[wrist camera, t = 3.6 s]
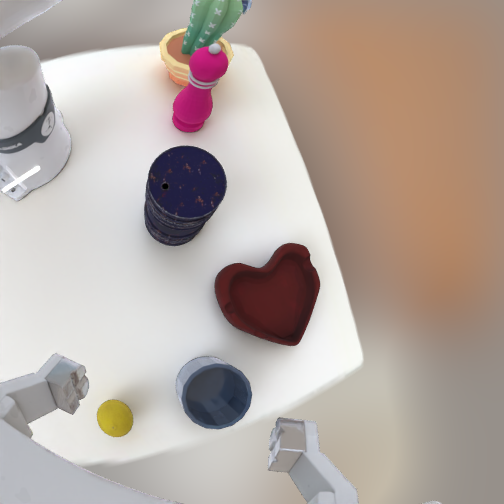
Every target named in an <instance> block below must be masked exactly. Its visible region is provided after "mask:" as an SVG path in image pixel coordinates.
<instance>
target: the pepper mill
mask: <svg viewBox="0 0 504 504" xmlns="http://www.w3.org/2000/svg"><path fill="white" fill-rule="evenodd" d="M189 68H190V70H189V74H188V80H189V84H188V85H187V86H186V87H185V88H184V89H183V90H182V91H181V92H180V93H179V94H178V95H177V97H176V98H175V101H174V103H173V111H174V113H173V118H172V120H173V123H174V125H175V126H176V127H177V128H178V129H179V130H181V131H184V132H195V131H197V130H199V129H200V128H201V127H202V126H203V124H204V121H205V120H206V119H207V118H208V117H209V116H210V114H211V111H212V107H213V102H212V97H211V89H212V87H214V86H216V85H217V83H218V80H219V78H220V77H222V76H223V75H224V74H225V72H226V71H227V68H228V58H227V56H226V54H225V53H224V52H223V51H222V50H221V47H220V45H219V44H216V43H214V44H211V45H210V46H208V47H202V48H200V49H198V50H196V51H195V52H194V53H193V54H192V56H191V58H190V61H189Z"/></svg>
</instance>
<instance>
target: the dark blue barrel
mask: <svg viewBox="0 0 504 504" xmlns="http://www.w3.org/2000/svg"><path fill="white" fill-rule="evenodd" d="M226 188H227V180H226V175H225V172H224V169H223V167H222V165H221V164H220V163H219V161H218V160H217V159H216V158H215V157H214V156H213V155H212V154H210V153H209V152H207V151H205V150H203V149H201V148H198V147H194V146H177V147H173V148H170V149H168V150H166V151H164V152H163V153H162V154H160V155H159V156H158V157H157V158H156V159H155V161H154V162H153V164H152V165H151V167H150V170H149V174H148V180H147V185H146V194H145V197H146V202H145V207H144V215H145V224H146V227H147V230H148V231H149V233H150V235H151V236H152V237H153V238H154V239H155V240H157V241H158V242H160V243H162V244H165V245H169V246H178V245H182V244H185V243H187V242H189V241H190V240H192V239H193V238H194V237H195V236H196V235H197V234H198V233H199V231H200V230H201V229H202V227H203V226H204V224H205V222H206V221H208V220H209V219H210V217H211V216H212V215H213V213H214V212H215V211H216V209H217V208H218V206H219V204H220V203H221V202H222V200H223V198H224V196H225V193H226Z"/></svg>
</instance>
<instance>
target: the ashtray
mask: <svg viewBox="0 0 504 504" xmlns="http://www.w3.org/2000/svg"><path fill="white" fill-rule="evenodd" d="M319 289H320V280H319V276H318V274H317V271H316V269H315V268H314V267H313V265H312V264H311V261H310V253H309V251H308V249H307V248H306V247H305V246H303V245H300V244H295V243H287V244H284V245H282V246H280V247H279V248H278V249H277V250H276V251H275V252H274V254H273V256H272V257H271V259H270V260H269V262H268V263H267V264H266V265H265V266H263V267H261V268H255V267H251V266H248V265H245V264H242V263H234V264H231V265H228V266H226V267H225V268H223V269H222V270H221V271H220V272H219V273H218V275H217V277H216V279H215V294H216V297H217V300H218V303H219V306H220V308H221V310H222V312H223V314H224V316H225V317H226V319H227V320H228V321H229V322H230V323H231V324H232V325H233V326H234V327H236V328H238V329H240V330H242V331H244V332H246V333H249V334H251V335H254V336H257V337H259V338H262V339H265V340H268V341H271V342H274V343H278V344H282V345H288V346H295V345H297V344H298V343H299V342H300V340H301V339H302V336H303V334H304V332H305V330H306V327H307V325H308V322H309V320H310V317H311V314H312V312H313V309H314V306H315V302H316V299H317V296H318V293H319Z"/></svg>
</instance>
